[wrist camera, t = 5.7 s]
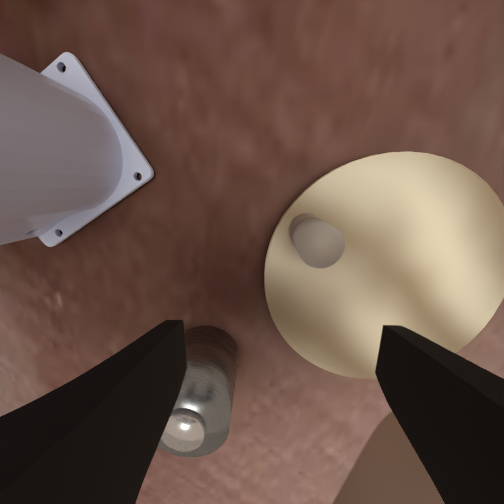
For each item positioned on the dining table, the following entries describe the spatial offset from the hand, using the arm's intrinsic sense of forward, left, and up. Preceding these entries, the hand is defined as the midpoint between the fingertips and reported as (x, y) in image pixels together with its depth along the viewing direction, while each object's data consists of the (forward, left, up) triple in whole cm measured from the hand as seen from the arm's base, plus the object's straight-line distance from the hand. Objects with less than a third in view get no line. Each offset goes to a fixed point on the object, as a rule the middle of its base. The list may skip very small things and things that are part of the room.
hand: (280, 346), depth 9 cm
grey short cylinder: (-8, -4, -9) cm, 13 cm away
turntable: (+6, -4, -9) cm, 11 cm away
